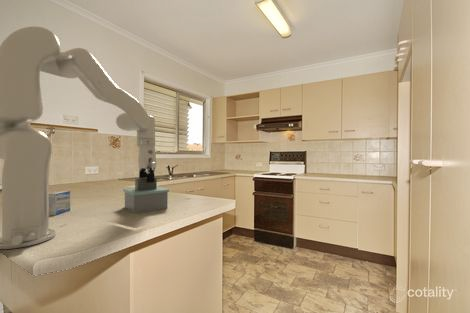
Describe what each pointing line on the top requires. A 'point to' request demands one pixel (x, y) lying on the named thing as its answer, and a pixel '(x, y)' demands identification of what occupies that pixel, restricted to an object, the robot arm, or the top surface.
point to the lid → (145, 187)
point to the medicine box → (59, 202)
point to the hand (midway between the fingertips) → (146, 181)
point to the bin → (146, 202)
